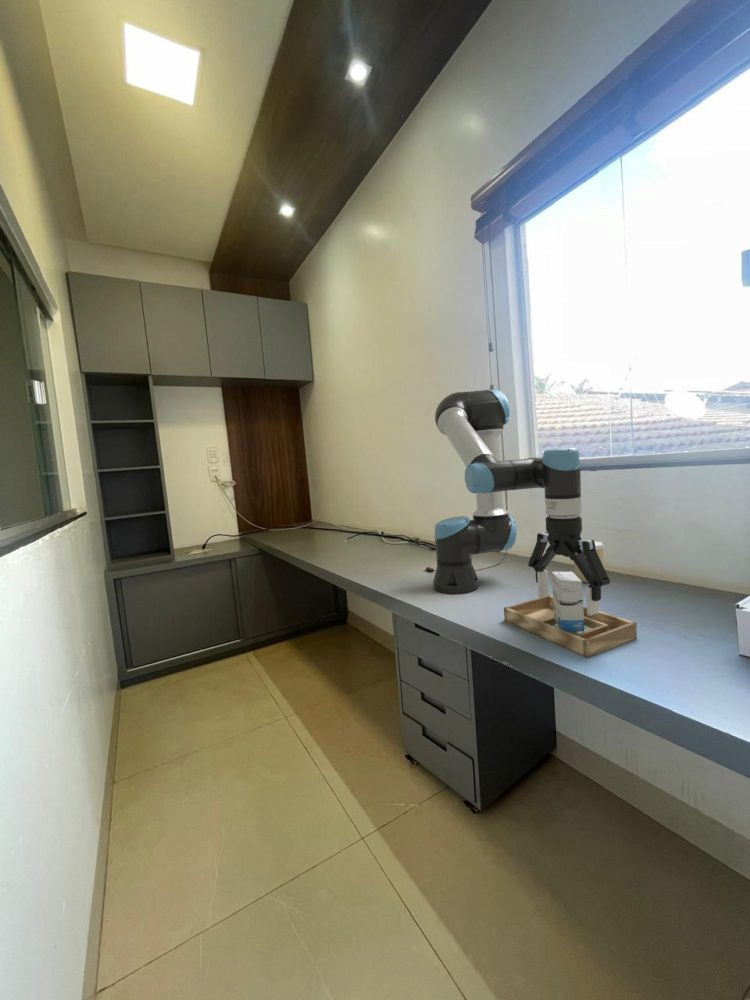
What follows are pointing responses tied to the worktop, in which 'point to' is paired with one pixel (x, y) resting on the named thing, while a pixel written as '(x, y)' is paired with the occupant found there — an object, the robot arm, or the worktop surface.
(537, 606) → the walled box
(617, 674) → the worktop surface
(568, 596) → the ink box
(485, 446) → the robot arm
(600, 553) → the coffee cup
